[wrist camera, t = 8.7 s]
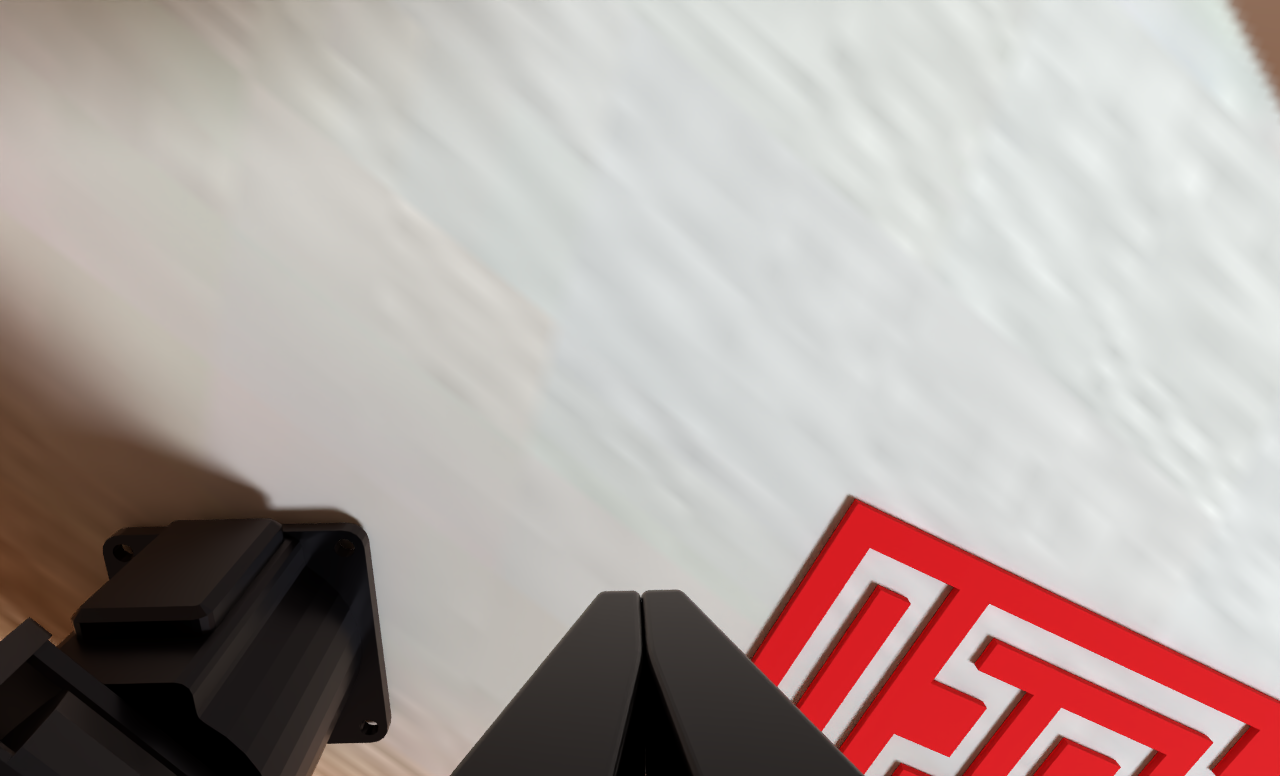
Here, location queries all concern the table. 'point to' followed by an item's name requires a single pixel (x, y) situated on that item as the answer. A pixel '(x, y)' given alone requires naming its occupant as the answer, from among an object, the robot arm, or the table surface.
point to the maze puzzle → (996, 667)
